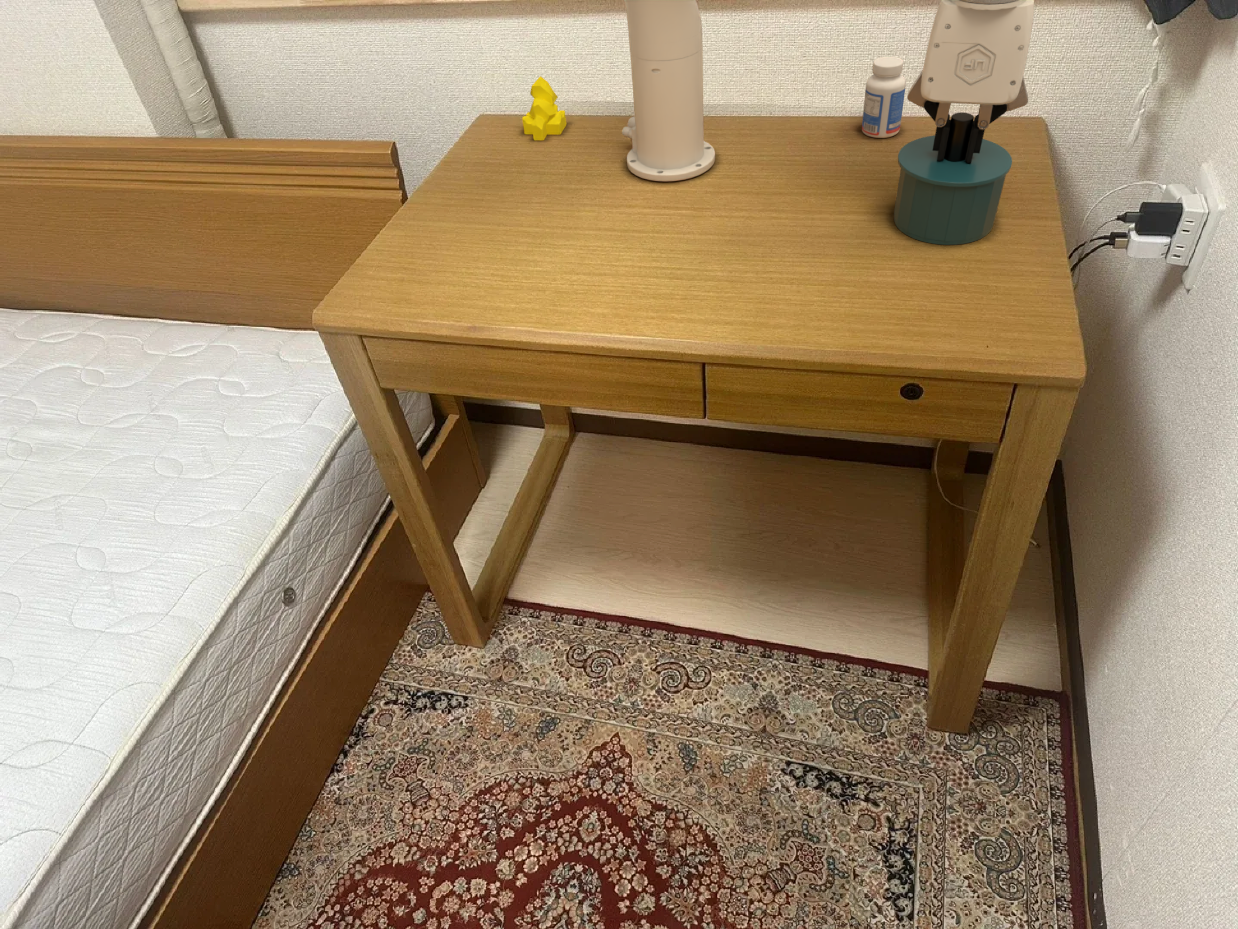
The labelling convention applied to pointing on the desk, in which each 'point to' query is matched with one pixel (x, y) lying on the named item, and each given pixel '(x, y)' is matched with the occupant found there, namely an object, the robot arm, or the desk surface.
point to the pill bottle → (884, 98)
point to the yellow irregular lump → (543, 112)
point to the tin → (945, 210)
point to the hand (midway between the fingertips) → (954, 155)
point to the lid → (955, 158)
